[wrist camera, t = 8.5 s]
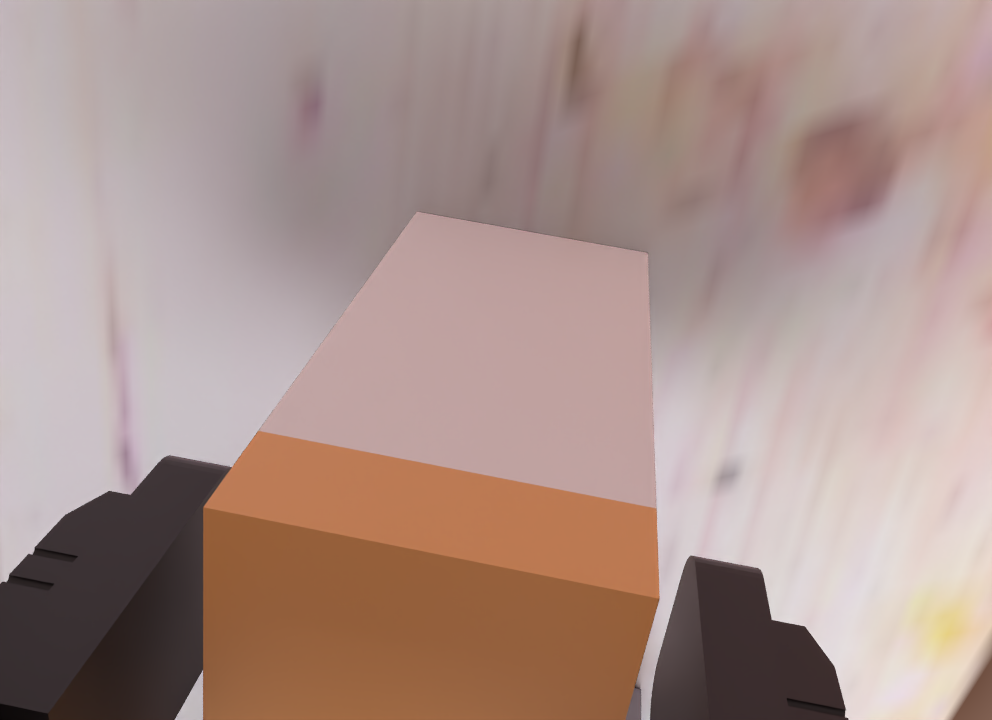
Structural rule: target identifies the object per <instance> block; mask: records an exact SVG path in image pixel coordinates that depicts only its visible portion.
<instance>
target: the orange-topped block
mask: <svg viewBox="0 0 992 720" xmlns="http://www.w3.org/2000/svg"><path fill="white" fill-rule="evenodd" d="M658 602H659V569H658V540H657V510H656V480H655V451H654V421H653V392H652V362H651V332H650V303H649V273H648V253H645V252H640V251H634V250H629V249H623V248H618V247H612V246H606V245H601V244H595V243H590V242H584V241H578V240H573V239H567V238H562V237H556V236H551V235H545V234H539V233H534V232H528V231H523V230H517V229H512V228H506V227H500V226H495V225H489V224H484V223H478V222H473V221H467V220H461V219H456V218H450V217H445V216H439V215H433V214H428V213H422V212H416V213H415V215H414V216H413V217H412V219H411V220H410V222H409V223H408V224H407V226H406V227H405V228H404V230H403V231H402V233H401V234H400V235H399V237H398V238H397V240H396V241H395V242H394V244H393V245H392V246H391V248H390V249H389V251H388V252H387V253H386V255H385V256H384V258H383V259H382V260H381V262H380V263H379V264H378V266H377V267H376V269H375V270H374V271H373V273H372V274H371V276H370V277H369V278H368V280H367V281H366V282H365V284H364V285H363V287H362V288H361V289H360V291H359V292H358V294H357V295H356V296H355V298H354V299H353V300H352V302H351V303H350V305H349V306H348V307H347V309H346V310H345V312H344V313H343V314H342V316H341V317H340V318H339V320H338V321H337V323H336V324H335V325H334V327H333V328H332V330H331V331H330V332H329V334H328V335H327V336H326V338H325V339H324V341H323V342H322V343H321V345H320V346H319V348H318V349H317V350H316V352H315V353H314V354H313V356H312V357H311V359H310V360H309V361H308V363H307V364H306V366H305V367H304V368H303V370H302V371H301V372H300V374H299V375H298V377H297V378H296V379H295V381H294V382H293V384H292V385H291V386H290V388H289V389H288V391H287V392H286V393H285V395H284V396H283V397H282V399H281V400H280V402H279V403H278V404H277V406H276V407H275V409H274V410H273V411H272V413H271V414H270V415H269V417H268V418H267V420H266V421H265V422H264V424H263V425H262V427H261V428H260V429H259V431H258V432H257V433H256V435H255V436H254V438H253V439H252V440H251V442H250V443H249V445H248V446H247V447H246V449H245V450H244V451H243V453H242V454H241V456H240V457H239V458H238V460H237V461H236V463H235V464H234V465H233V467H232V468H231V469H230V471H229V472H228V474H227V475H226V476H225V478H224V479H223V481H222V482H221V483H220V485H219V486H218V487H217V489H216V490H215V492H214V493H213V494H212V496H211V497H210V499H209V500H208V501H207V503H206V504H205V505H204V507H203V720H625V719H626V716H627V712H628V708H629V705H630V701H631V698H632V694H633V691H634V687H635V684H636V680H637V677H638V673H639V670H640V666H641V662H642V659H643V655H644V652H645V648H646V645H647V641H648V638H649V634H650V631H651V627H652V623H653V620H654V616H655V613H656V609H657V606H658Z"/></svg>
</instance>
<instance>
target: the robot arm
mask: <svg viewBox="0 0 992 720" xmlns="http://www.w3.org/2000/svg"><path fill="white" fill-rule="evenodd" d="M231 468H232V467H228V466H223V465H218V464H212V463H207V462H202V461H197V460H191V459H186V458H181V457H175V456H170V455H169V456H166V457H164V458H163V459H162V460H161V461H160V462H159V463H158V464H157V465H156V466H155V467H154V469H153V470H152V471H151V472H150V473H149V474H148V476H147V477H146V478H145V479H144V480H143V481H142V483H141V484H140V485H139V486H138V487H137V488H136V490H135V491H134V492H133V493H132V494H131V495H128V494H122V493H117V492H112V491H108V492H107V493H105V494H103V495H101V496H99V497H97V498H96V499H94V500H92V501H90V502H88V503H86V504H85V505H83V506H81V507H79V508H77V509H75V510H74V511H72V512H70V513H68V514H66V515H65V516H64V517H63V518H62V519H61V520H60V521H59V522H58V523H57V524H56V525H55V526H54V527H53V529H52V530H51V531H50V532H49V533H48V534H47V535H46V536H45V537H44V538H43V539H42V540H41V541H40V542H39V543H38V545H37V546H36V547H35V550H34V553H33V555H31V554H28V555H27V556H26V557H25V558H24V559H23V561H22V562H21V563H20V564H19V565H18V566H17V567H16V568H15V569H14V570H13V571H12V572H11V573H10V574H9V579H8V581H7V582H2V583H1V584H0V720H175V718H176V716H177V714H178V713H179V711H180V709H181V707H182V706H183V704H184V702H185V700H186V699H187V697H188V695H189V693H190V691H191V690H192V688H193V686H194V684H195V683H196V681H197V679H198V677H199V676H200V674H201V672H202V670H203V507H204V505H205V504H206V503H207V501H208V500H209V499H210V497H211V496H212V494H213V493H214V492H215V490H216V489H217V487H218V486H219V485H220V483H221V482H222V481H223V479H224V478H225V476H226V475H227V474H228V472H229V471H230V469H231ZM845 710H846V709H845V705H844V701H843V697H842V693H841V689H840V686H839V682H838V678H837V674H836V670H835V667H834V665H833V664H832V663H831V661H830V660H829V659H828V657H827V656H826V655H825V653H824V652H823V650H822V649H821V648H820V646H819V645H818V644H817V642H816V641H815V640H814V638H813V637H812V636H811V634H810V633H809V631H808V630H807V629H806V627H805V626H799V625H794V624H789V623H784V622H779V621H773V620H772V619H771V614H770V609H769V604H768V598H767V593H766V588H765V583H764V578H763V574H762V572H761V570H760V569H759V568H754V567H749V566H743V565H738V564H733V563H728V562H722V561H717V560H712V559H706V558H701V557H696V556H690V557H689V558H688V559H687V561H686V564H685V566H684V569H683V573H682V576H681V580H680V583H679V587H678V590H677V594H676V597H675V601H674V605H673V608H672V612H671V615H670V619H669V622H668V626H667V630H666V633H665V637H664V640H663V644H662V647H661V651H660V655H659V658H658V662H657V666H656V671H655V676H654V683H653V690H652V698H651V711H650V720H848V718H845Z"/></svg>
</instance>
